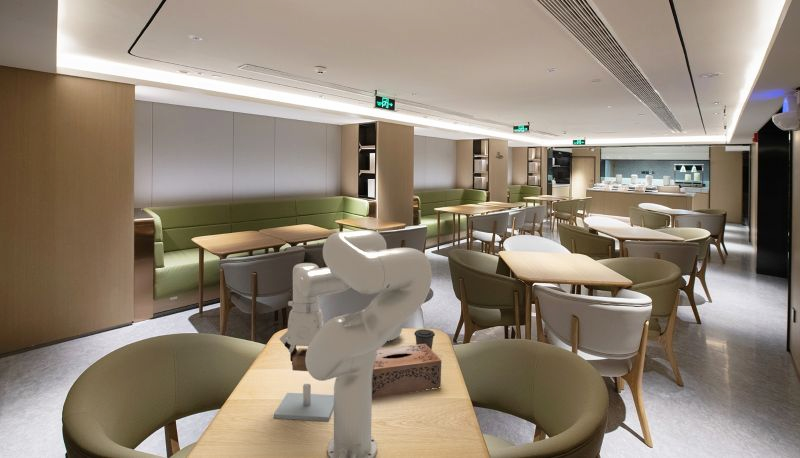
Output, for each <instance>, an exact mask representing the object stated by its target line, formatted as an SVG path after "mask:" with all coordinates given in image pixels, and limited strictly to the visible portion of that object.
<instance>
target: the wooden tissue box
mask: <svg viewBox="0 0 800 458" xmlns="http://www.w3.org/2000/svg"><path fill="white" fill-rule="evenodd" d="M306 352H307V348H302V347H299V348H297V352H296V354H295V355H294V356H293V357H292V361H291V365H292V367H291V369H292V371H295V372H296V371H298V372H299V371H300V372H308V370H307V368H306V362H305V358H306Z"/></svg>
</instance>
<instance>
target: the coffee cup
mask: <svg viewBox="0 0 800 458" xmlns="http://www.w3.org/2000/svg"><path fill="white" fill-rule="evenodd" d="M413 334H414V336H415V345H418V344H426V345H427V346H428V347H429V348H430V349H431V350H432V348H433V343H434V337H435V336H436V335H435V332H434V331H433V330H430V329H421V328H420V329H417V330H416V331H415V332H414V333H413ZM432 351H433V350H432Z"/></svg>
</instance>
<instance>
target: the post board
mask: <svg viewBox="0 0 800 458" xmlns="http://www.w3.org/2000/svg"><path fill="white" fill-rule="evenodd" d="M311 386H312V385H311V384H310V383H304V384H303V385H302V392H301V393H300V392H299V393H298V392H287V393H286V395H284V398H283V399H282V401H281V402H280V404H279V405H278V407H277V409H276V410H275V412H274V413H273V419H284V420H300V421H301V420H302V421H303V420H304V421H321V422H329V421H330V420H331V417H332V415H333V414H332V413H333V412H334V394H319V393H311V392H312V388H311Z"/></svg>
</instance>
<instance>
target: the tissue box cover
mask: <svg viewBox="0 0 800 458" xmlns="http://www.w3.org/2000/svg"><path fill="white" fill-rule="evenodd" d="M441 381H442V359H440V357H439V356H438V355H437V354H436V353H435V352H434V351H433V350H431V349H430V348H429V347H428V346H427V345H426V344H418V345H416V344H411V345H410V344H409V345H402V346H401V345H400V346H393V347H384V348H379V349H377V354H376V360H375V364H374V369H373V378H372V399H379V398H386V397H392V396H400V395H403V394H404V395H406V394H411V393H410V392H413V393H417V392H416V391H419V392H423V391H422V390H426V389H432V388H439V387H441V384H442V382H441ZM439 389H440V388H439ZM426 391H427V390H426Z"/></svg>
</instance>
